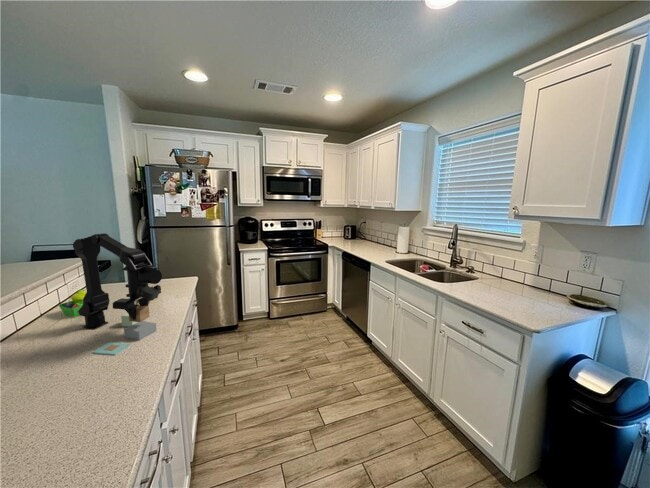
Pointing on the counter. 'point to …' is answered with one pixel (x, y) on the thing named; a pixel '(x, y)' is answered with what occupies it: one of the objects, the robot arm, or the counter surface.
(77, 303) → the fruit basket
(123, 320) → the sage cube
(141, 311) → the walnut cube
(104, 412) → the counter surface
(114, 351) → the card
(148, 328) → the slate block
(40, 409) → the counter surface
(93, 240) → the robot arm
